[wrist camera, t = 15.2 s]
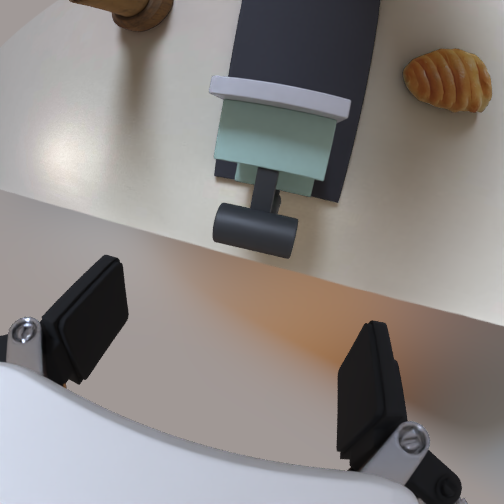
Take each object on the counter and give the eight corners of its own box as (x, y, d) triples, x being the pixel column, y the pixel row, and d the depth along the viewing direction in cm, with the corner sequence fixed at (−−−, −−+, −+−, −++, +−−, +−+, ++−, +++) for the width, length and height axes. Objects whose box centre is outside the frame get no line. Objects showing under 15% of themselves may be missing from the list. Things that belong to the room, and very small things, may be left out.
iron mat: (251, -35, 19) (250, -37, 18) (380, -12, 18) (382, -14, 17) (215, 174, 31) (213, 175, 30) (337, 201, 30) (338, 203, 29)
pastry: (408, 114, 24) (421, 116, 21) (393, 49, 21) (404, 43, 18) (481, 111, 21) (500, 114, 18) (470, 51, 18) (487, 47, 15)
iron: (211, 75, 13) (185, 247, 17) (351, 100, 12) (308, 276, 16) (254, 104, 26) (236, 198, 29) (327, 119, 25) (306, 213, 29)
